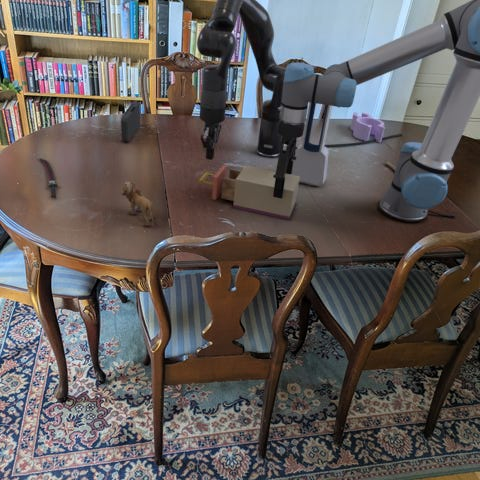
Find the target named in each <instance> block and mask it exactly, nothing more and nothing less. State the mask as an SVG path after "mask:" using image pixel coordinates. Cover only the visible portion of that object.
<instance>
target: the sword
mask: <svg viewBox="0 0 480 480" xmlns="http://www.w3.org/2000/svg"><path fill="white" fill-rule="evenodd" d="M40 161H41V162H42V163H43V165H44V166H45V169H46V173H47V176H48V185H47V188H50V198H56V197H57V189H56V188H57V187H59V185H58V184H57V183H56V180H55V176H54V172H53V169H52V167H51V164H50V163H49V161H48V160H46V159H43V158H40Z"/></svg>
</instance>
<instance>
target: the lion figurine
mask: <svg viewBox="0 0 480 480" xmlns="http://www.w3.org/2000/svg"><path fill="white" fill-rule="evenodd" d="M119 193H120V194H121V196H122V197H124V196H125V198H126V199H127V200H128V202H129V203H130V207H131V211H130V212H129V213H130V215H135V214H136V211H137V212H141V214H142V216H143V218H144V219H145V223H144V225H145V227H149V226H150V221H152V223H153V225H155V226H159V222H156V221H155V219H154V217H153V216H154V215H153V204H152V202H151V200H150V199H148V198H146V197H145V196H144V195H143V194H142V192H141V190H140V187H138V185H136V184H135V183H133V182H132V181H125V182H124V186H122V188H121V189H119ZM136 207H137V208H136ZM148 214H149V216H148Z"/></svg>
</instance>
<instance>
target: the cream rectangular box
mask: <svg viewBox="0 0 480 480" xmlns="http://www.w3.org/2000/svg"><path fill="white" fill-rule="evenodd" d="M240 171H241V173H240V174H239V175H238V177H237V178H236V182H235V193H234V201H233V204H232V208H233V209H234V208H235V209H237V210H243V211H247V212H251V213H255V214H256V213H257V214H261V215H266V216H271V217H275V218H279V219H284V220H287V221H288V220H289V221H290V218H291V216H292V213H293V211H294V208H295V206H296V202H297V196H298V192H299V191H298V190H299V185H300V182H299V179H300V176H296V175H291V174H286V173H285V183H284V190H283V197H282V199H281V198H276V197H273V193H274V186H275V179H276V178H275V177H273V175H275V173H276V170H270V169H265V168H259V167H256V166H250V165H245V166H244V167H243V168H242V170H240Z"/></svg>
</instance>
